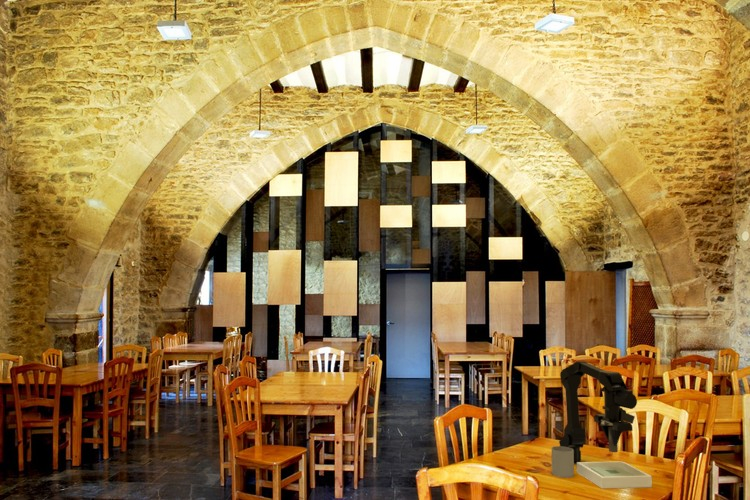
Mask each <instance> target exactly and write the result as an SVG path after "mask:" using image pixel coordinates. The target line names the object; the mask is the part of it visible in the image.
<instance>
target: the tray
mask: <svg viewBox="0 0 750 500" xmlns="http://www.w3.org/2000/svg"><path fill="white" fill-rule="evenodd" d="M576 474H578V475H580V476H582V477H583V478H585V479H587V481H589V482H591V483H592V484H594V485H596V486H597V487H599V488H600V489H631V488H633V489H634V488H635V489H636V488H640V489H641V488H653V487H652V486H653V481H652V480H653V479H652V478H653V477H652V475H650V474H649V473H646V472H645V471H642V470H640V469H639V468H637V467H635V466H633V465H631V464H629V463H627V462H625V461H581V462H577V463H576Z"/></svg>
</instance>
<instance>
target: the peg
mask: <svg viewBox="0 0 750 500" xmlns="http://www.w3.org/2000/svg"><path fill="white" fill-rule="evenodd" d="M609 428H613V427H609ZM618 445H619V444H617V446H614V445H613V442H612V438H611V435H610V431H609V442H608V451H609V453H618V451H619V450H618V448H619V447H618Z"/></svg>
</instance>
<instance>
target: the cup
mask: <svg viewBox="0 0 750 500" xmlns="http://www.w3.org/2000/svg"><path fill="white" fill-rule="evenodd" d="M574 465H575V463H574V450H573V449H572V448H569V447H562V446H560V445H559V446H557V445H556V446H552V447H551V474H552V475H553V476H555V477H557V478H558V477H559V478H563V479H565V478H566V479H567V478H568V479H569V478H573V477H574V474H575V470H574V469H575V468H574Z"/></svg>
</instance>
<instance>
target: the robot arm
mask: <svg viewBox="0 0 750 500" xmlns="http://www.w3.org/2000/svg"><path fill="white" fill-rule="evenodd" d="M559 375H560V381H561V382H560V383H561V385H562V386H563V387H564V389H565V401H566V402H565V404H566V405H565V406H566V418H567V419H566V421H567V422H566V423H567V424H566V425H565V427H564V430H563V436H562V437H561V438H560V439H559V441H558V443H559V446H562V447H569V448H572V449H573V450H574V464H577V462H582V451H581V449H583V448H584V443H585V441H586V438H587V437H586V429H585V427H583V426H582V425H581V423H580V409H579V393H578V392H579V391H578V389H579V387H580V385H581V384H582V383H581V382H582V378H583V376H585V375H587V376H589V377H592V378H594V379H596V380H597V381H598V383H599V384H600V385H602V386H603V387H601V389H600V392H603V394H604V399H603V400H604V405H602V410H604V414H602V413H601V414H599V413H597V414H595V415H593V416H594V417H593V422H595V423H600V424H599V426H600V428H601V430H602V432H603V434H604V436H605V438H606V440H607V442H608V443H609V431H610V435H611V438H612V442H613V445H614V446H617V444H618V443H619V440H620V437H621V434H622V433H624V432H632V431H633V424H634V421H635V417H636V416H635V415H633V414H630V413H627V411H626V410H625V408H626V409H629V410H633V409H634V408H636V407H637V404H638V400H637V397H636V395H635V394H633V390H631V389H630V390H629V388H628V386H627V384H626V383H625V380H624V379H623V376H622V374H621V373H620V372H617V371H612V370H611V371H610V370H604V369H602V368H601V367H597V366H595V365H593V364H591V363H588V362H587V361H585V360H581V361H580V360H579V361H578V360H577V361H575V362H574V363H573V364H571V365H568V366H567V367H565V368H563V369H562V370H561V371H560V374H559ZM623 408H624V409H623ZM609 427H613V428H609ZM618 445H619V444H618Z"/></svg>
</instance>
